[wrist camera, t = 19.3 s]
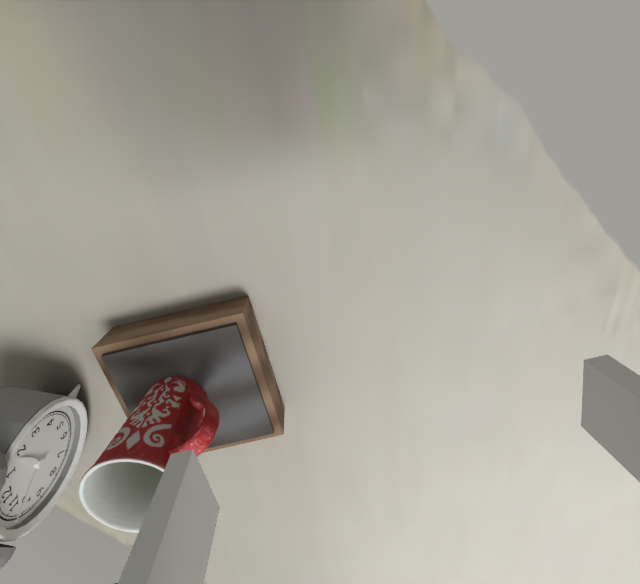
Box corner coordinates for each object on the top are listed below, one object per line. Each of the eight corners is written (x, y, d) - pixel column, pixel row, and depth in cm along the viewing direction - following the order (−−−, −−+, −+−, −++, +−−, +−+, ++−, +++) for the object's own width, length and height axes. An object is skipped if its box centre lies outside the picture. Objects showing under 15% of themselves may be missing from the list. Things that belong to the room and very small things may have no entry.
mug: (172, 442, 47) (128, 548, 35) (123, 393, 44) (54, 489, 32) (254, 395, 46) (238, 489, 33) (208, 341, 42) (171, 421, 30)
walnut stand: (112, 327, 48) (88, 351, 42) (248, 295, 47) (242, 315, 42) (164, 435, 54) (149, 467, 48) (284, 407, 54) (283, 437, 48)
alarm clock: (93, 458, 55) (-28, 642, 34) (30, 452, 54) (-134, 637, 33) (93, 364, 49) (-51, 515, 29) (23, 354, 48) (-179, 504, 28)
